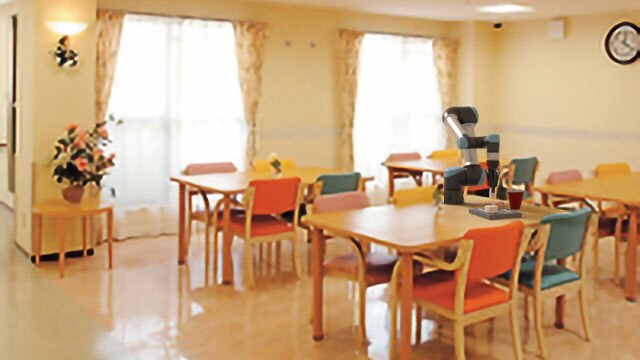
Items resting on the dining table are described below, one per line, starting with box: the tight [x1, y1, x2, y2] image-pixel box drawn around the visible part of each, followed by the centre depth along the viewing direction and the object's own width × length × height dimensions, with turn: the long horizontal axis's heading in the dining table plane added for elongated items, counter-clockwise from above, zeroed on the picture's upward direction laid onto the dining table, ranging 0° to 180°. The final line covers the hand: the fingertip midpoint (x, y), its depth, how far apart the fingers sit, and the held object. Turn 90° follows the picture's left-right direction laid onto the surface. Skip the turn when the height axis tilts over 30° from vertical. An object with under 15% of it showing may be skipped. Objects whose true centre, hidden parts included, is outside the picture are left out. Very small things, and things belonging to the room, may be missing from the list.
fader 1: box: [484, 204, 498, 213], centre depth 373 cm, size 4×6×4 cm, turn 108°
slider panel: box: [468, 207, 523, 220], centre depth 381 cm, size 22×22×3 cm
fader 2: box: [491, 200, 505, 208], centre depth 388 cm, size 4×6×4 cm, turn 108°
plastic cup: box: [506, 189, 525, 211], centre depth 398 cm, size 11×11×12 cm
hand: (492, 198), depth 393 cm, fingers closed
